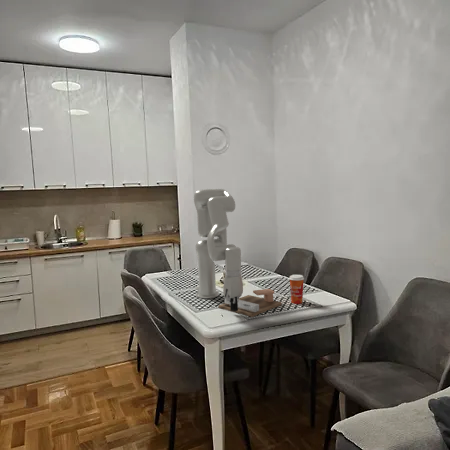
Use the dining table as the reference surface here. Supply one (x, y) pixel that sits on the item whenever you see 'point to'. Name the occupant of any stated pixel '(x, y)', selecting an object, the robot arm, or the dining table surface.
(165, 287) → the dining table surface
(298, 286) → the paper cup
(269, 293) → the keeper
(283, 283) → the dining table surface
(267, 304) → the board
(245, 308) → the link
